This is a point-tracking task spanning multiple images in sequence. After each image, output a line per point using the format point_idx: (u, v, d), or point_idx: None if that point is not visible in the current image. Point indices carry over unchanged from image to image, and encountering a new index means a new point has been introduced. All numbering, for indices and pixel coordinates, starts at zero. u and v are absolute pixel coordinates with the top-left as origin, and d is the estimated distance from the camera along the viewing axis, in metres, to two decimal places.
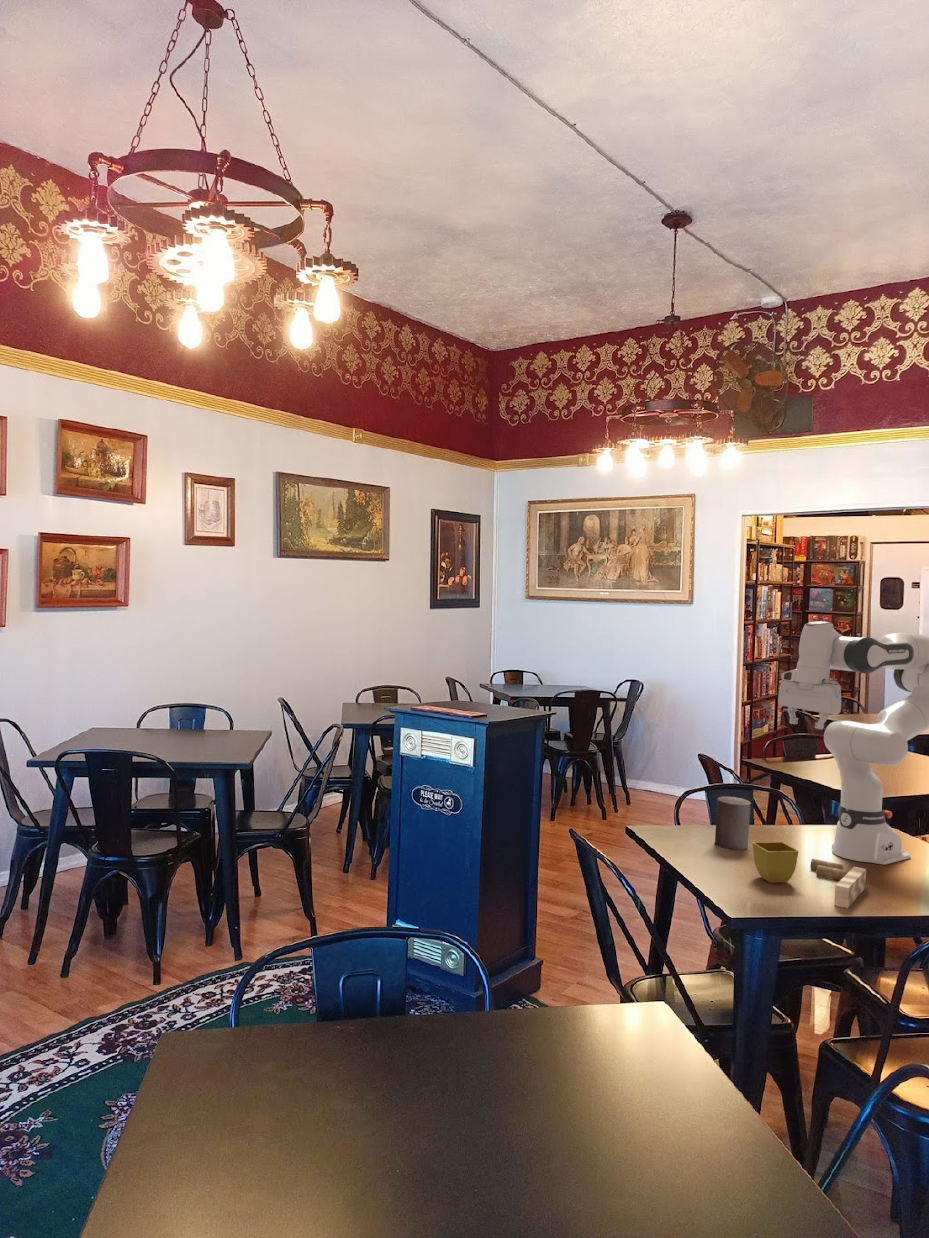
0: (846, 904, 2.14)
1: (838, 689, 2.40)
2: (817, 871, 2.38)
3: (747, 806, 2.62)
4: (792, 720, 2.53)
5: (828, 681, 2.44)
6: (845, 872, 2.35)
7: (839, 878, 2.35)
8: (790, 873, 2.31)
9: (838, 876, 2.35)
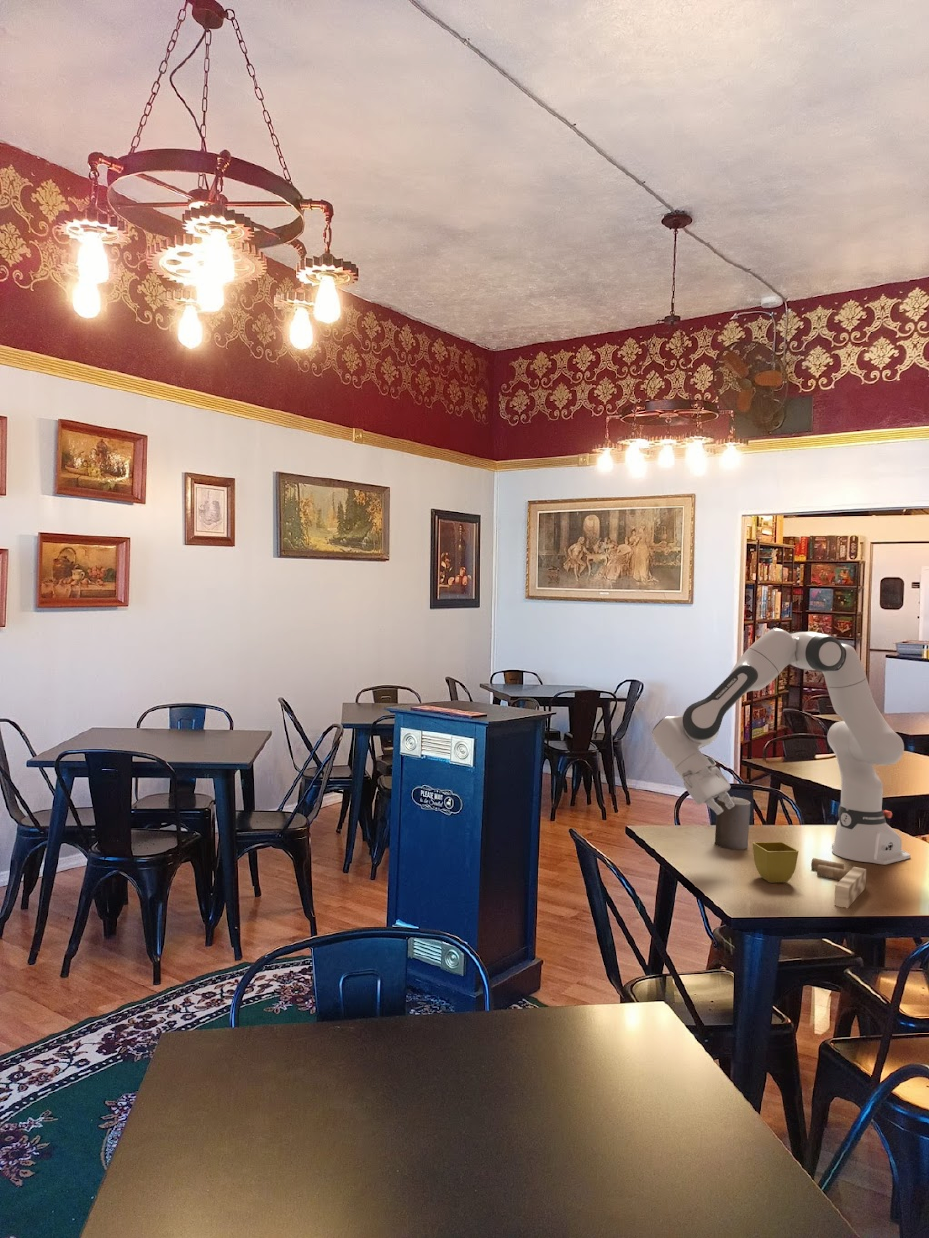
0: (846, 904, 2.14)
1: None
2: (818, 868, 2.39)
3: (747, 806, 2.62)
4: None
5: None
6: (846, 870, 2.35)
7: (839, 876, 2.35)
8: (790, 873, 2.31)
9: (839, 873, 2.35)
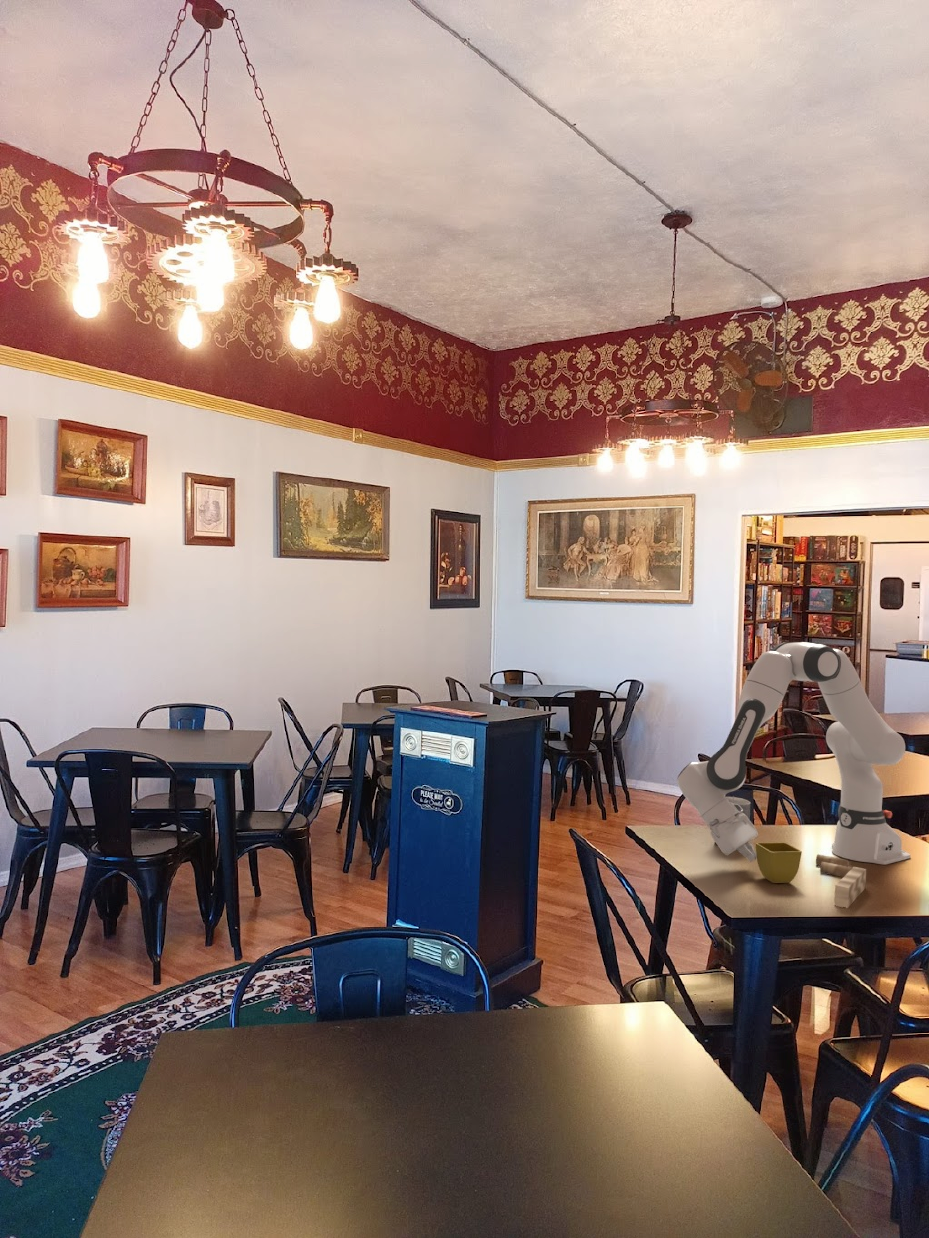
0: (846, 904, 2.14)
1: (712, 831, 2.33)
2: None
3: (747, 806, 2.62)
4: None
5: None
6: None
7: None
8: (793, 873, 2.30)
9: None
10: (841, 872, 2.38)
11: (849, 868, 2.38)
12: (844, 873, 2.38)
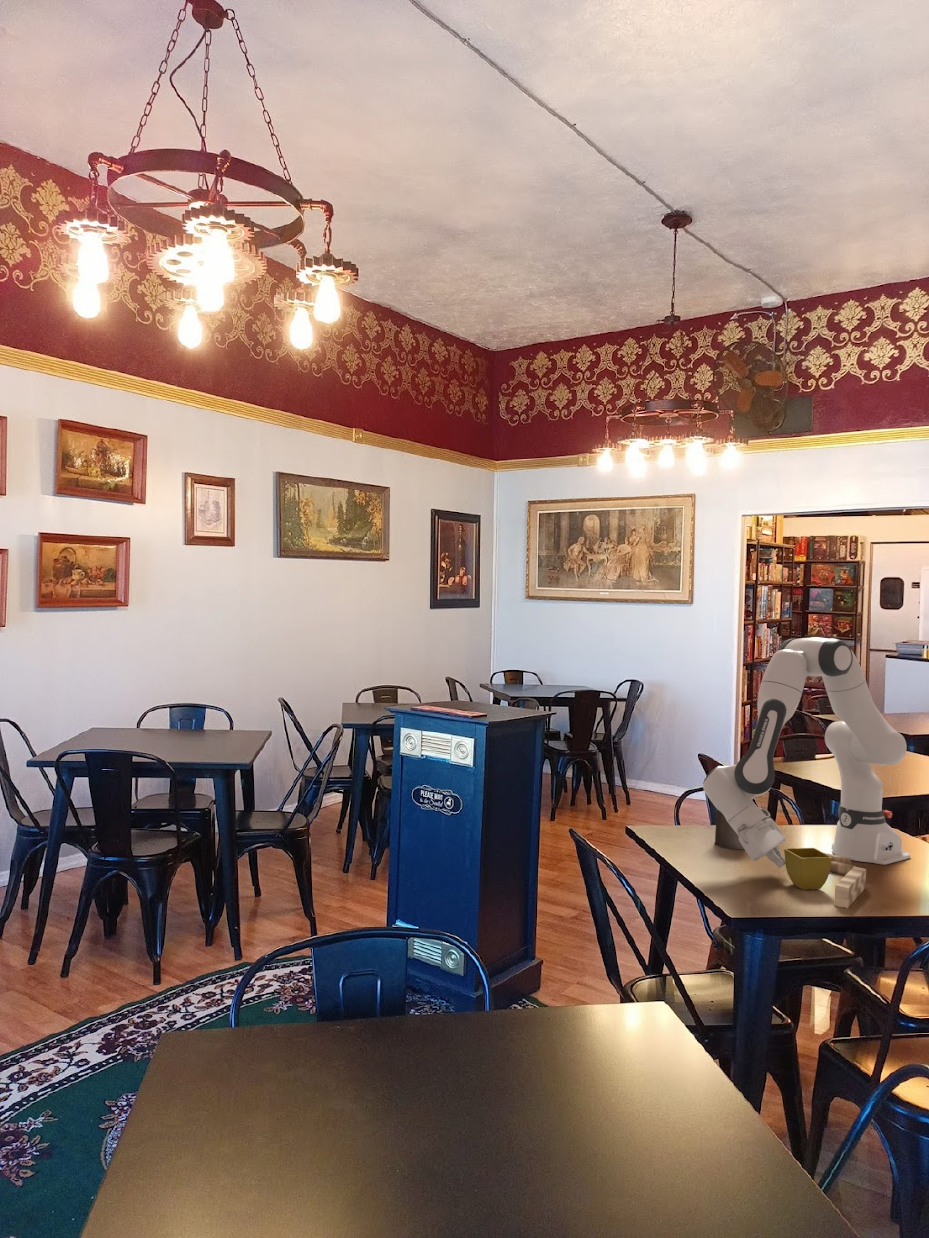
0: (846, 904, 2.14)
1: (740, 836, 2.29)
2: None
3: None
4: None
5: None
6: None
7: None
8: (823, 880, 2.26)
9: None
10: None
11: None
12: (848, 864, 2.41)
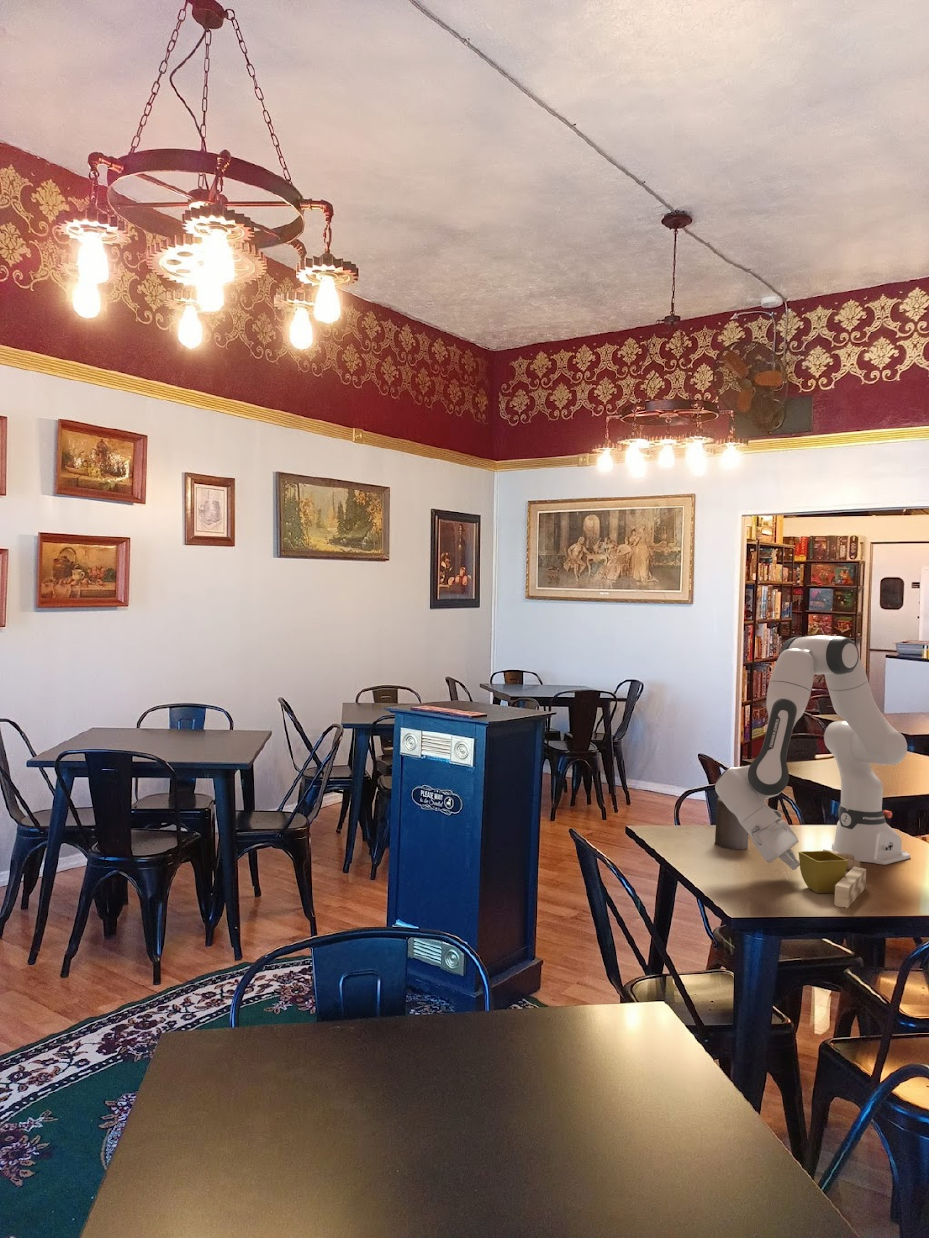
0: (846, 904, 2.14)
1: (753, 838, 2.27)
2: None
3: None
4: None
5: None
6: None
7: None
8: None
9: None
10: (848, 869, 2.45)
11: (855, 865, 2.44)
12: None
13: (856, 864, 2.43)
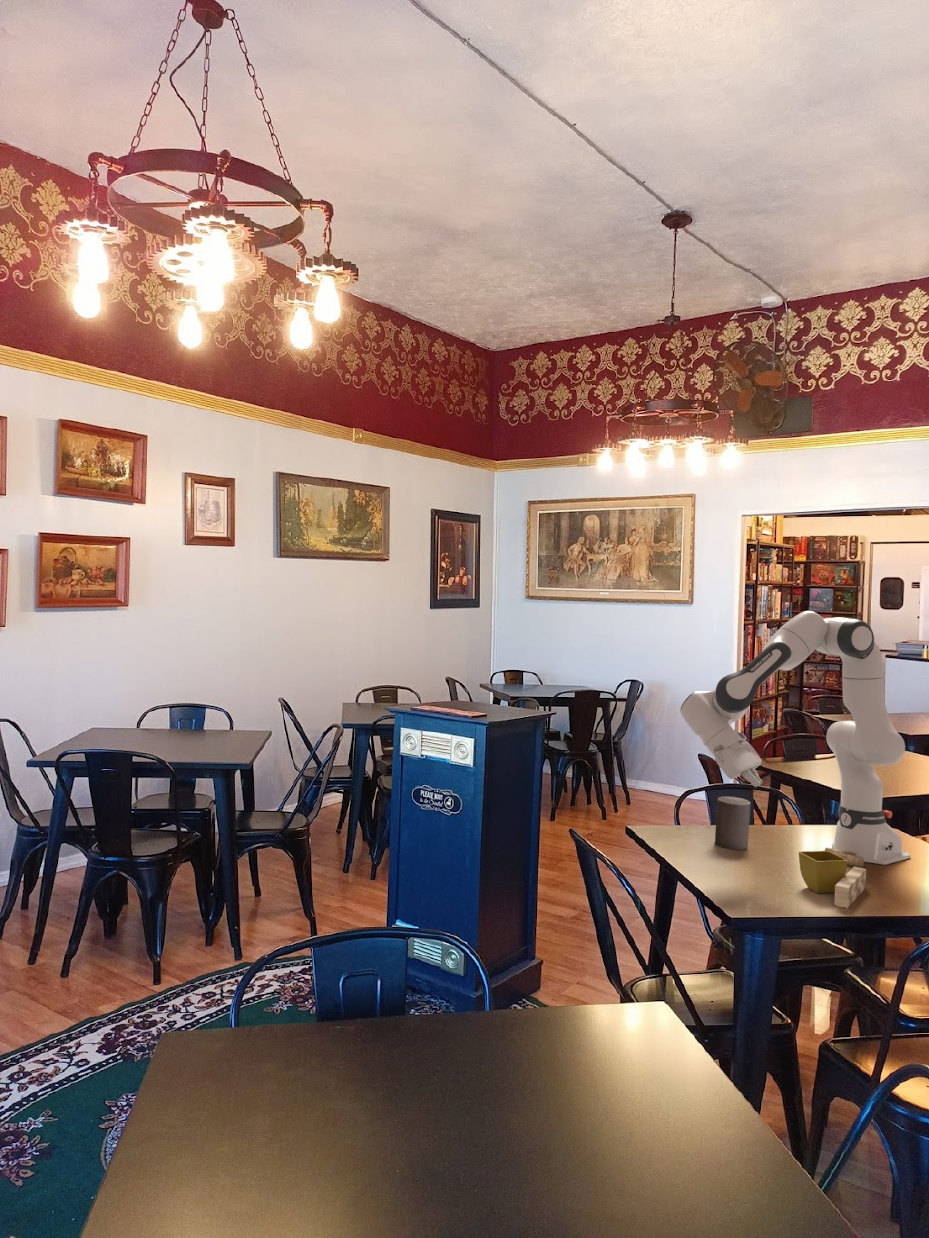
0: (846, 904, 2.14)
1: (716, 756, 2.34)
2: None
3: (747, 806, 2.62)
4: None
5: None
6: (858, 862, 2.48)
7: (854, 866, 2.49)
8: None
9: (852, 865, 2.49)
10: None
11: None
12: None
13: None
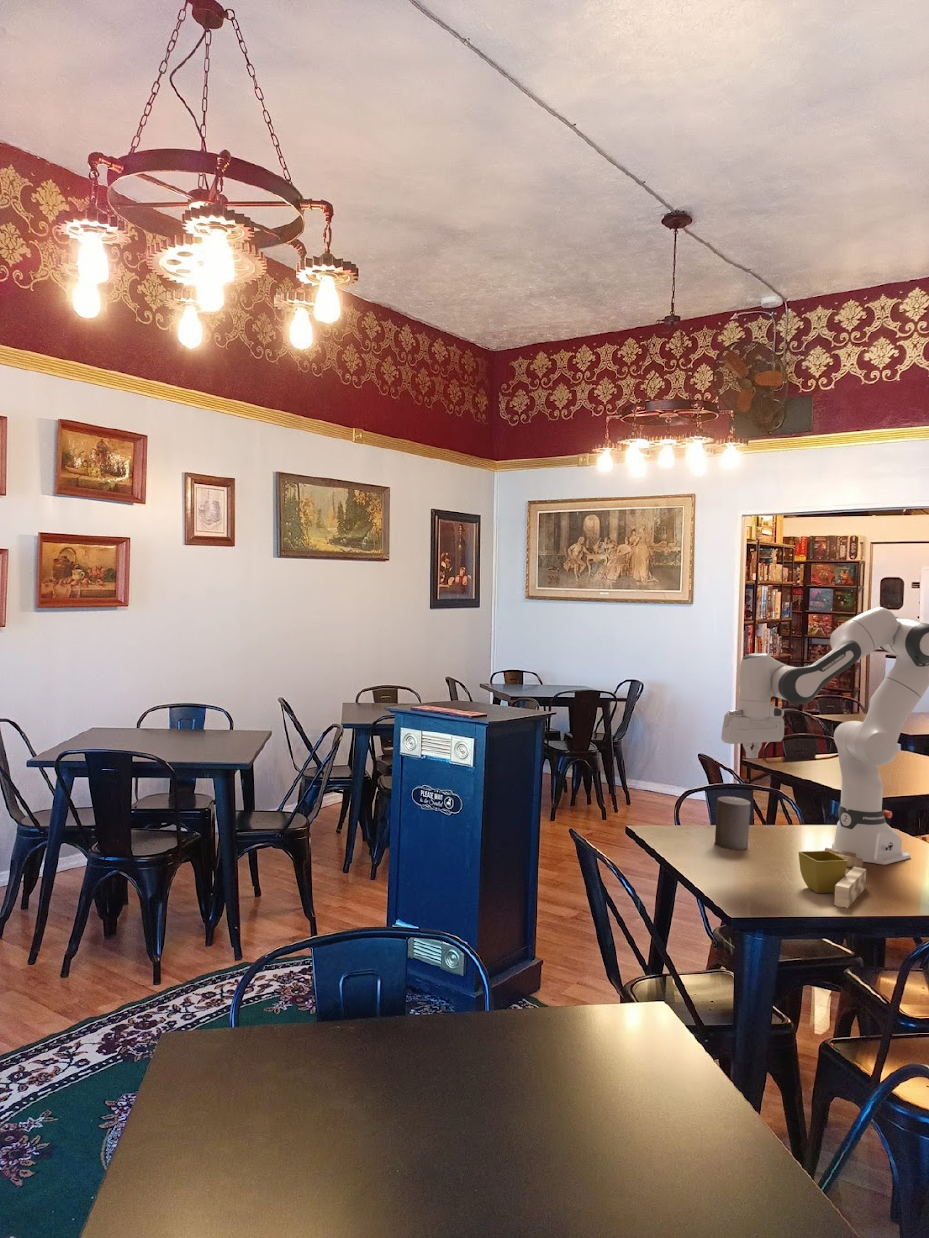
0: (846, 904, 2.14)
1: None
2: None
3: (747, 806, 2.62)
4: None
5: None
6: None
7: None
8: None
9: None
10: (852, 857, 2.49)
11: None
12: None
13: None
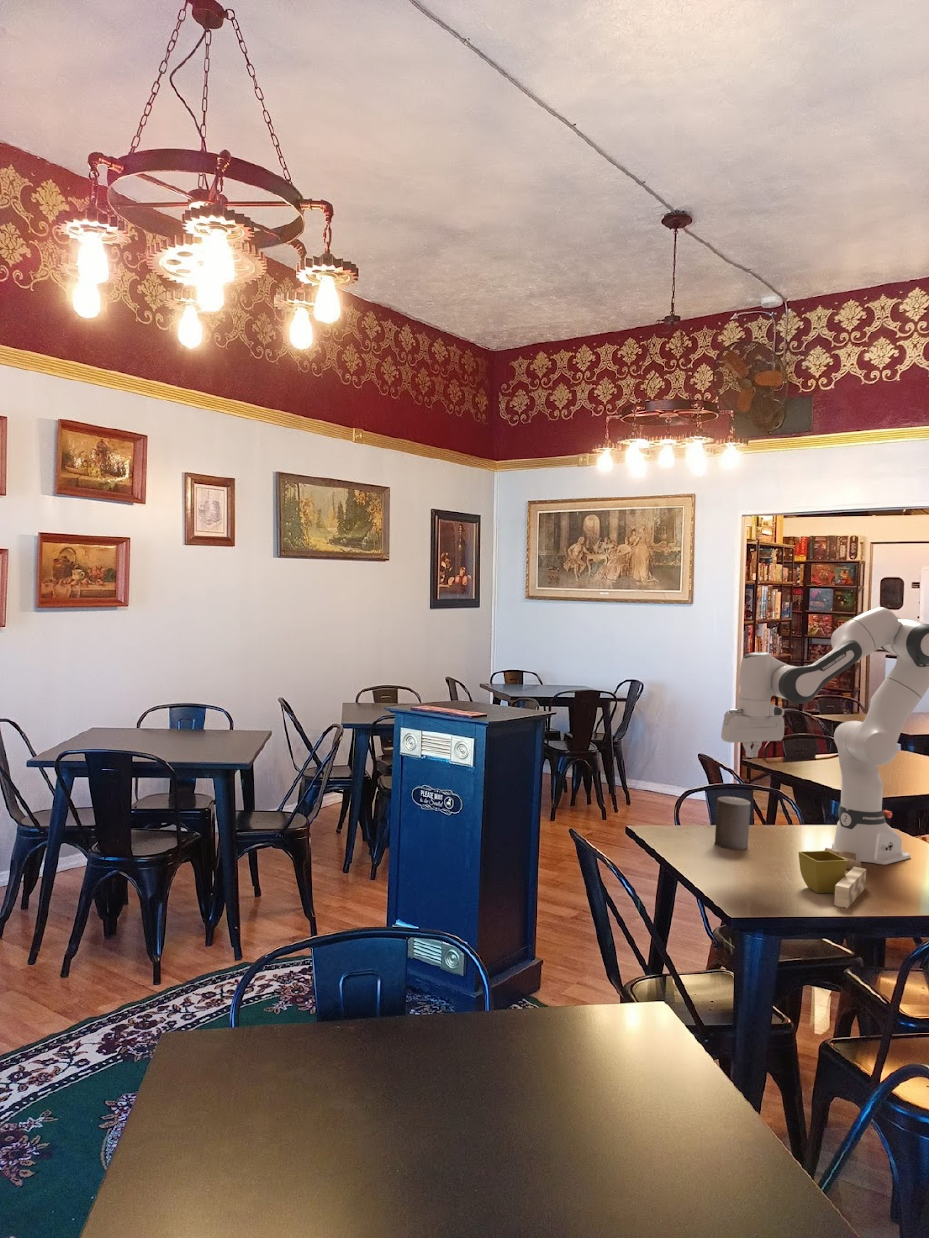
0: (846, 904, 2.14)
1: None
2: None
3: (747, 806, 2.62)
4: None
5: None
6: None
7: None
8: None
9: None
10: (848, 865, 2.45)
11: (856, 861, 2.45)
12: (851, 866, 2.45)
13: (858, 860, 2.45)
